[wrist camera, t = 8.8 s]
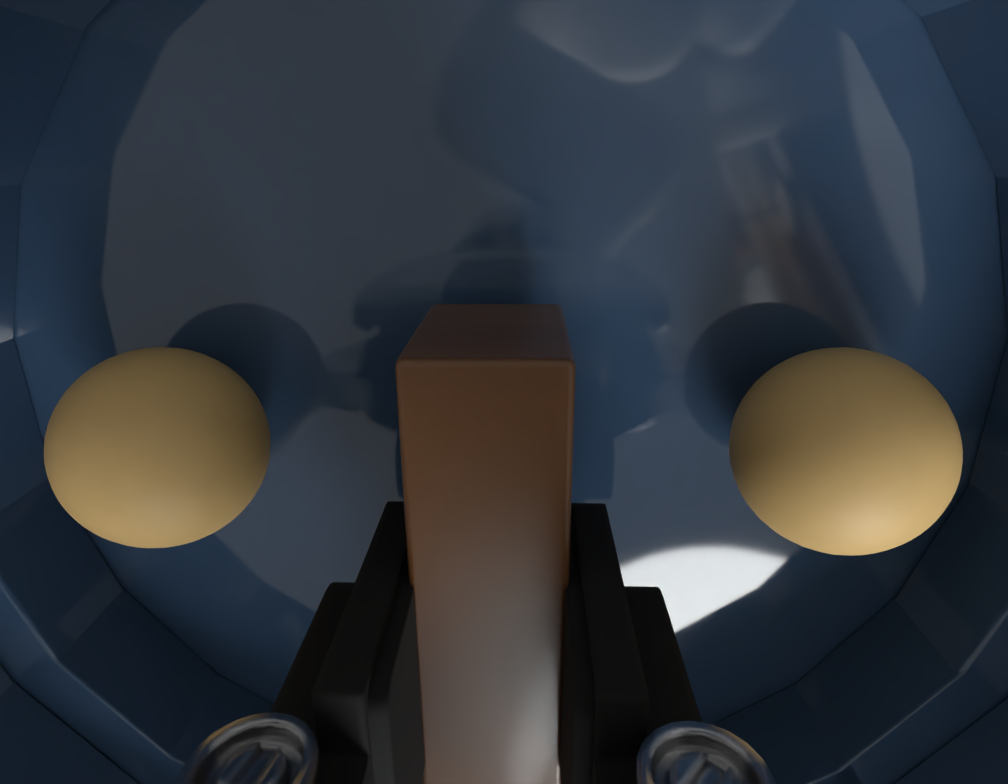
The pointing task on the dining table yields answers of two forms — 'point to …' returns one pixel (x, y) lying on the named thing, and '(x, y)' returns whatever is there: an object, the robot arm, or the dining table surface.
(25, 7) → the round tray
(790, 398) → the bead
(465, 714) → the brown wooden block
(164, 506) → the bead
